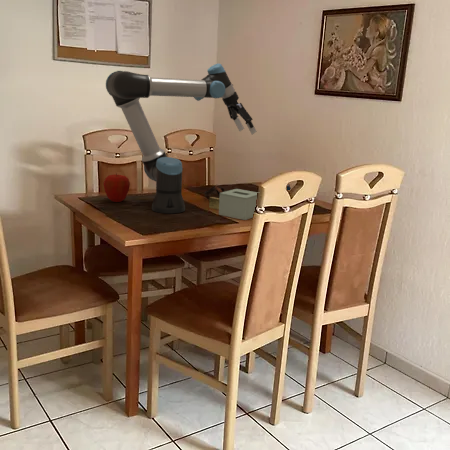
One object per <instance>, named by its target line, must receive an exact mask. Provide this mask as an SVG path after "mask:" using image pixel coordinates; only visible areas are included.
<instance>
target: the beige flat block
mask: <svg viewBox="0 0 450 450" xmlns="http://www.w3.org/2000/svg"><path fill="white" fill-rule="evenodd" d="M208 200H209V204H208V205H209V206H208V207H209V209H213V210H218V211H219V197H215V196H211V197H210V196H209V198H208Z"/></svg>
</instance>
